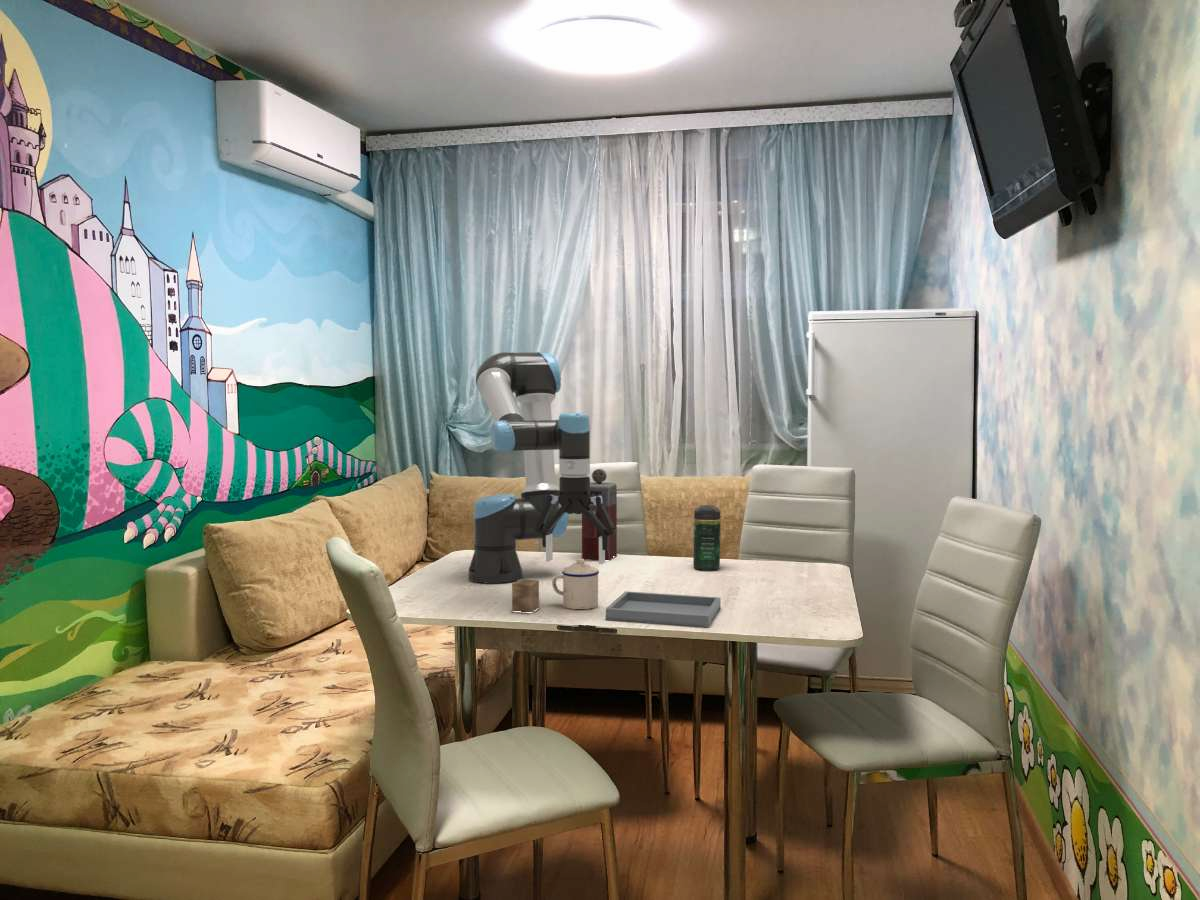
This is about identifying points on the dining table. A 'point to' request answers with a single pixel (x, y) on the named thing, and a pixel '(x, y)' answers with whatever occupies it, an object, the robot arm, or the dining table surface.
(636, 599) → the tray
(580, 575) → the teacup with lid
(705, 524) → the coffee jar
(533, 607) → the walnut block
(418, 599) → the dining table surface
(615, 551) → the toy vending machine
